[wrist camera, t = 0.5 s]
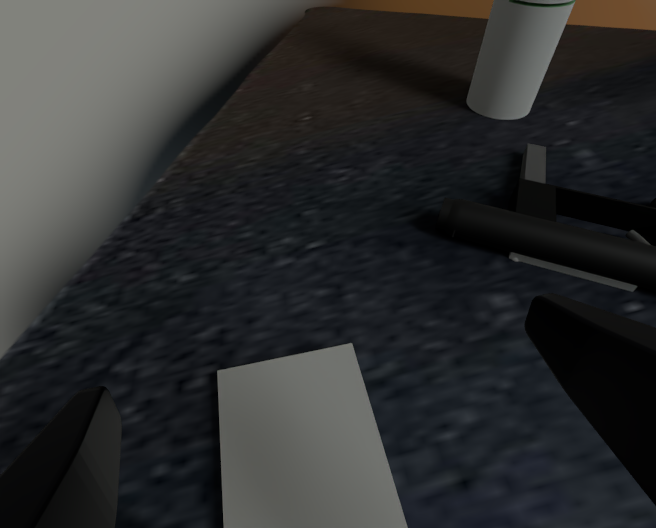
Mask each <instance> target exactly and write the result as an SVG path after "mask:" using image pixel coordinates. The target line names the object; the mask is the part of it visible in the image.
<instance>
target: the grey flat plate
mask: <svg viewBox="0 0 656 528" xmlns="http://www.w3.org/2000/svg"><path fill="white" fill-rule="evenodd" d="M217 377H218V401H219V426H220V450H221V475H222V499H223V523H224V528H407V524H406V521H405V518H404V514H403V511H402V508H401V504H400V501H399V498H398V494H397V491H396V488H395V484H394V481H393V478H392V475H391V471H390V468H389V465H388V461H387V458H386V455H385V451H384V448H383V445H382V441H381V438H380V435H379V431H378V428H377V425H376V421H375V418H374V415H373V412H372V408H371V405H370V402H369V398H368V395H367V392H366V388H365V385H364V382H363V378H362V375H361V372H360V368H359V365H358V362H357V358H356V355H355V352H354V349H353V345H352V343H350V344H345V345H340V346H335V347H331V348H326V349H321V350H316V351H311V352H306V353H301V354H296V355H292V356H287V357H282V358H277V359H272V360H267V361H262V362H258V363H253V364H248V365H243V366H238V367H233V368H228V369H223V370H219V371H217Z"/></svg>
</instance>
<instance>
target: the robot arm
mask: <svg viewBox="0 0 656 528" xmlns="http://www.w3.org/2000/svg"><path fill="white" fill-rule="evenodd" d="M525 331H526V333H527V335H528V337H529V338H530V340H531V341H532V343H533V344H534V346H535V347H536V349H537V350H538V352H539V353H540V355H541V356H542V358H543V359H544V361H545V362H546V364H547V365H548V367H549V368H550V370H551V371H552V373H553V375H554V376H555V378H556V379H557V381H558V382H559V383H560V385H561V386H562V388H563V389H564V391H565V392H566V393H567V395H568V396H569V397H570V399H571V400H572V401H573V402H574V404H575V405H576V406H577V407H578V409H579V410H580V411H581V412H582V414H583V415H584V416H585V417H586V419H587V420H588V421H589V422H590V424H591V425H592V426H593V428H594V429H595V430H596V431H597V433H598V434H599V435H600V436H601V438H602V439H603V440H604V441H605V443H606V444H607V445H608V446H609V448H610V449H611V450H612V451H613V453H614V454H615V455H616V456H617V458H618V459H619V460H620V462H621V463H622V464H623V465H624V467H625V468H626V469H627V470H628V472H629V473H630V474H631V475H632V477H633V478H634V479H635V480H636V482H637V483H638V484H639V485H640V487H641V488H642V489H643V490H644V492H645V493H646V494H647V495H648V497H649V498H650V499H651V501H652V502H653V503H654V504H655V506H656V328H655V327H652V326H649V325H646V324H643V323H640V322H637V321H634V320H631V319H628V318H625V317H622V316H619V315H616V314H613V313H610V312H607V311H605V310H602V309H599V308H596V307H593V306H590V305H587V304H584V303H581V302H578V301H575V300H572V299H569V298H566V297H563V296H560V295H557V294H553V293H549V294H544V295H539V296H536V297H535V298H534V299H533V300H532V302H531V306H530V309H529V312H528V315H527V318H526V321H525ZM121 431H122V424H121V417H120V414H119V412H118V410H117V408H116V405H115V403H114V401H113V399H112V397H111V394H110V392H109V390H108V389H107V388H106V387H104V386H99V387H94V388H89V389H84V390H81V391H79V392H77V393H76V394H75V395H74V396H73V397H72V398H71V399H70V400H69V402H68V403H67V404H66V405H65V406H64V407H63V408H62V409H61V410H60V411H59V412H58V414H57V415H56V416H55V417H54V418H53V419H52V420H51V421H50V422H49V423H48V424H47V425H46V427H45V428H44V429H43V430H42V431H41V432H40V433H39V434H38V435H37V436H36V437H35V439H34V440H33V441H32V442H31V443H30V444H29V445H28V446H27V447H26V448H25V449H24V451H23V452H22V453H21V454H20V455H19V456H18V457H17V458H16V459H15V460H14V461H13V462H12V464H11V465H10V466H9V467H8V468H7V469H6V470H5V471H4V472H3V473H2V474H1V476H0V528H114V527H115V521H116V513H117V500H118V483H119V465H120V448H121Z"/></svg>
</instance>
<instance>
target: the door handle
mask: <svg viewBox="0 0 656 528" xmlns="http://www.w3.org/2000/svg"><path fill="white" fill-rule="evenodd" d="M545 171H546V147H543V146H538V145H533V144H528V145H527V147H526V149H525V152H524V154H523V158H522V165H521V173H520V178H519V180H518V183H517V185H516V187H515V189H514V192H513V194H512V196H511V198H510V201H509V205H508V210H504V209H500V208H496V207H492V206H488V205H484V204H479V203H475V202H471V201H467V200H463V199H455V200H452V199H448V198H445V199H444V202H443V205H442V208H441V210H440V212H439V216H438V221H437V225H436V228H435V229H438V230H442V231H443V232H444V233H445V234H447V235H449V236H451V237H452V238H453V237H455V238H458V239H462V240H466V241H470V242H473V243H477V244H481V245H484V246H488V247H492V248H496V249H499V250H503V251H507V252H510V253H509V258H510V259H512V260H513V261H521V262H524V263H528V264H532V265H535V266H539V267H543V268H547V269H550V270H554V271H558V272H561V273H565V274H569V275H572V276H576V277H580V278H583V279H587V280H591V281H595V282H598V283H602V284H606V285H609V286H613V287H617V288H620V289H624V290H628V291H631V292H633V291H634V290H635V289H636V288H637V287H641V288H645V289H649V290H652V291H656V246H653V245H650V244H649V243H648V242H647V241H646V240H645V239H644V238H643V237H642V236H641V235H639V234H644V235H648V236H652V237H656V198H655V199H654V200H653V201H652V202H651V204H650V207H649V206H644V205H640V204H635V203H630V202H626V201H621V200H617V199H612V198H608V197H603V196H599V195H594V194H590V193H585V192H581V191H576V190H572V189H567V188H562V187H558V186H554V185H549V184H545ZM556 214H559V215H564V216H568V217H572V218H576V219H580V220H585V221H589V222H593V223H597V224H602V225H606V226H610V227H614V228H618V229H623V230H627V231H629V232H628V233H627V234H626V237H627V238H629V239H630V240H628V239H624V238H620V237H616V236H612V235H607V234H603V233H599V232H595V231H591V230H587V229H583V228H579V227H574V226H570V225H566V224H562V223H558V222H556ZM638 233H639V234H638Z"/></svg>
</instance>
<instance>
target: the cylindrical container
mask: <svg viewBox="0 0 656 528" xmlns="http://www.w3.org/2000/svg"><path fill="white" fill-rule="evenodd" d="M574 3H575V0H494V2H493V6H492V9H491V13H490V17H489V20H488V24H487V27H486V31H485V35H484V38H483V42H482V46H481V49H480V53H479V56H478V60H477V64H476V67H475V71H474V74H473V78H472V82H471V85H470V89H469V92H468V96H467V100H466V102H467V105H468V106H469V108H471V109H472V110H473V111H475V112H476V113H478V114H480V115H483V116H486V117H489V118H494V119H501V120H513V119H519V118H522V117H524V116H526V115H527V114H528V113H529V111H530V109H531V107H532V104H533V102H534V99H535V97H536V95H537V92H538V90H539V87H540V85H541V83H542V80H543V78H544V75H545V73H546V70H547V68H548V66H549V63H550V61H551V58H552V56H553V54H554V51H555V49H556V46H557V44H558V42H559V39H560V37H561V34H562V32H563V29H564V27H565V25H566V22H567V20H568V17H569V15H570V13H571V10H572V8H573V5H574Z"/></svg>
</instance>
